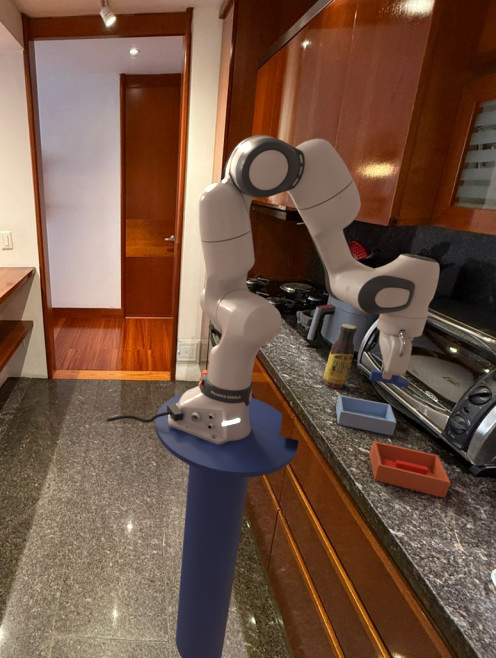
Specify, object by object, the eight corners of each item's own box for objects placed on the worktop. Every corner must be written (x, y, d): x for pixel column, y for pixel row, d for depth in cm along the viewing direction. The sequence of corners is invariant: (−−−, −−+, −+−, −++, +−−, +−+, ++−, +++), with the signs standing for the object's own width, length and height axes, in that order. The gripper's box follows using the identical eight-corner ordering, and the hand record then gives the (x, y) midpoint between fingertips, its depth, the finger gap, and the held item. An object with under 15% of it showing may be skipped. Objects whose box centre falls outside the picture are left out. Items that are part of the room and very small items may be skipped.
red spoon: (422, 472, 85) (426, 463, 84) (426, 482, 82) (429, 473, 81) (380, 462, 88) (382, 453, 87) (382, 471, 86) (384, 462, 85)
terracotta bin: (374, 480, 84) (378, 465, 82) (369, 454, 91) (373, 440, 90) (444, 498, 79) (450, 482, 77) (432, 469, 87) (438, 455, 85)
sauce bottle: (326, 388, 120) (339, 329, 113) (319, 379, 126) (331, 322, 118) (349, 390, 119) (364, 330, 112) (340, 380, 125) (354, 322, 118)
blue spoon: (370, 381, 97) (372, 373, 96) (369, 376, 99) (371, 367, 99) (409, 389, 93) (411, 380, 92) (407, 383, 96) (410, 374, 95)
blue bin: (337, 424, 103) (340, 411, 101) (335, 407, 111) (338, 394, 109) (392, 435, 98) (396, 422, 96) (386, 417, 106) (390, 404, 104)
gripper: (424, 341, 81) (406, 398, 86) (410, 313, 98) (396, 362, 103) (388, 336, 84) (373, 391, 89) (381, 310, 101) (368, 358, 106)
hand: (385, 375), depth 96 cm, fingers closed on blue spoon, 1 cm apart
